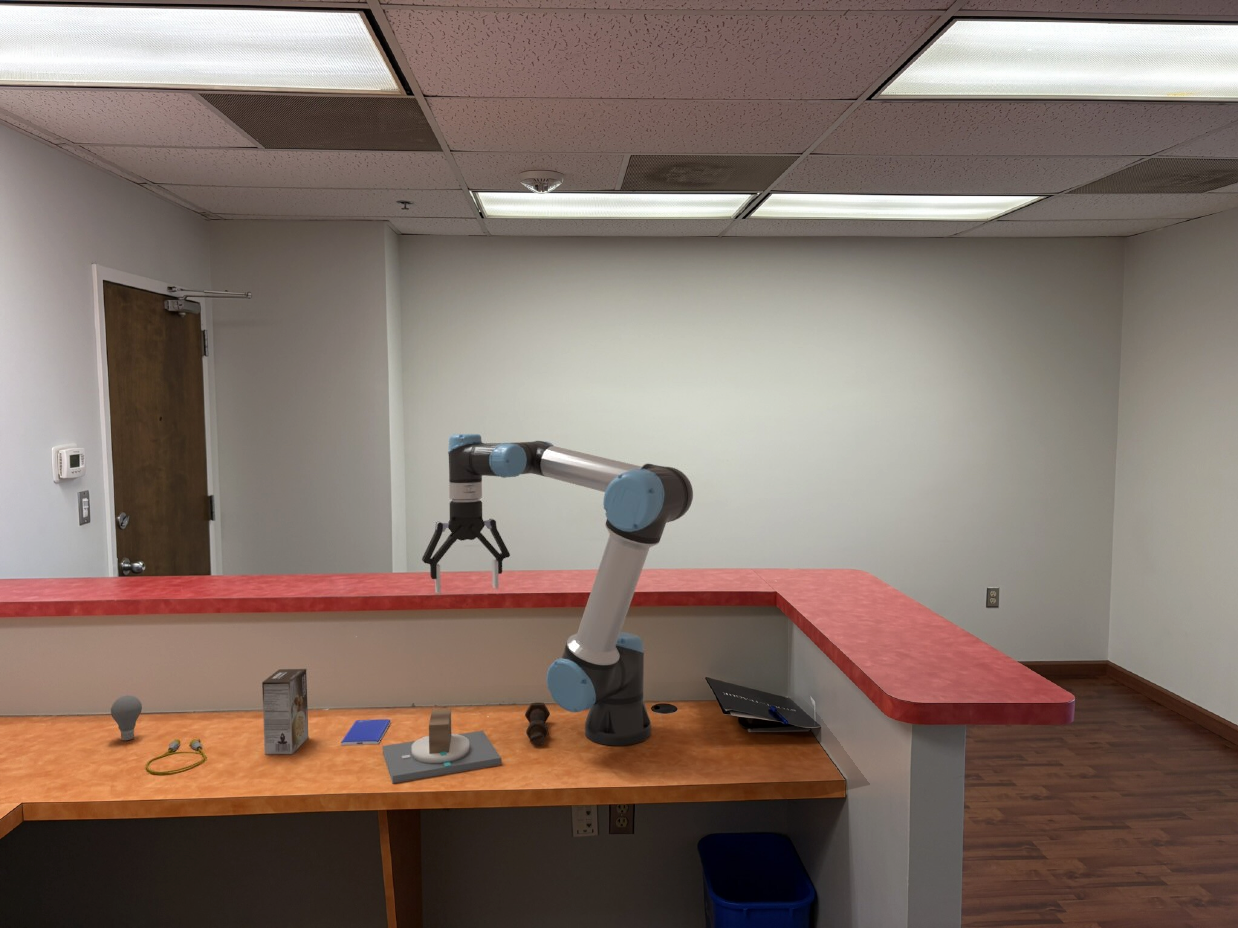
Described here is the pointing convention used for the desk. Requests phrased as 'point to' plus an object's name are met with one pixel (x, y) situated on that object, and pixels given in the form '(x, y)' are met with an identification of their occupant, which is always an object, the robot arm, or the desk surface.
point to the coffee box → (285, 711)
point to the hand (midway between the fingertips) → (467, 590)
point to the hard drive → (366, 732)
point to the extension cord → (173, 746)
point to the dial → (440, 741)
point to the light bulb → (126, 715)
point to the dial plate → (411, 769)
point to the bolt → (537, 723)
